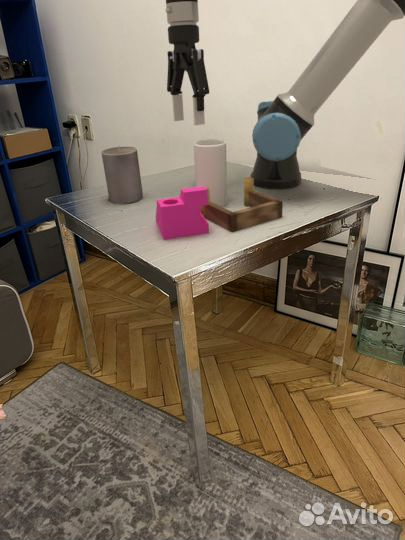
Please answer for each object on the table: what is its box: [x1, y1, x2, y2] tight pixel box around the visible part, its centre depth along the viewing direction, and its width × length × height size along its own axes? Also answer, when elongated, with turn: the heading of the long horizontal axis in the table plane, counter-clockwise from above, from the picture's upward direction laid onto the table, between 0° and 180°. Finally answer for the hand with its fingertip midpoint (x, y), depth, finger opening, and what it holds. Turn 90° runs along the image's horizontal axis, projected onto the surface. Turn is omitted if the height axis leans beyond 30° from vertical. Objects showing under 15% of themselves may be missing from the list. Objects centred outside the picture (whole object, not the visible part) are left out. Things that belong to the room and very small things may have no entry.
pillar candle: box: [101, 146, 144, 205], centre depth 112 cm, size 10×10×15 cm
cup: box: [193, 138, 228, 207], centre depth 105 cm, size 8×8×16 cm
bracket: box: [155, 186, 210, 241], centre depth 92 cm, size 12×10×10 cm
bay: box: [200, 176, 284, 233], centre depth 97 cm, size 16×13×7 cm
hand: (188, 122), depth 107 cm, fingers open, 10 cm apart
